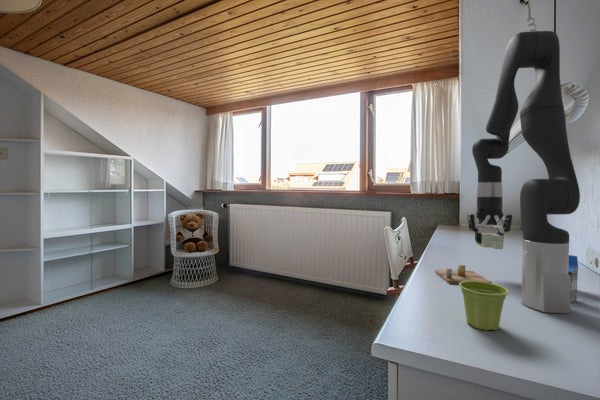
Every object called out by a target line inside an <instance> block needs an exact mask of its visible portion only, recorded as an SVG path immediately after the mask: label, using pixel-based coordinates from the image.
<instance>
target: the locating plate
mask: <svg viewBox="0 0 600 400" xmlns="http://www.w3.org/2000/svg"><path fill="white" fill-rule="evenodd" d="M435 273H436V275H437V276H438V277H440V278H441V279H442V280H443V281H445V282H446V283H449V285H459V283H460V282H463V281H480V282H487V283H492V281H491V280H488V279H487V278H485V277H483V276H482V275H480V274H478V273H477V272H476V271H473V270H466V265H465V264H458V265H457V270H453V269H452V268H451V267H450V268H449V267H448V268H446V269H445V270H444V269H443V270H442V269H435ZM492 284H493V283H492Z"/></svg>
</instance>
